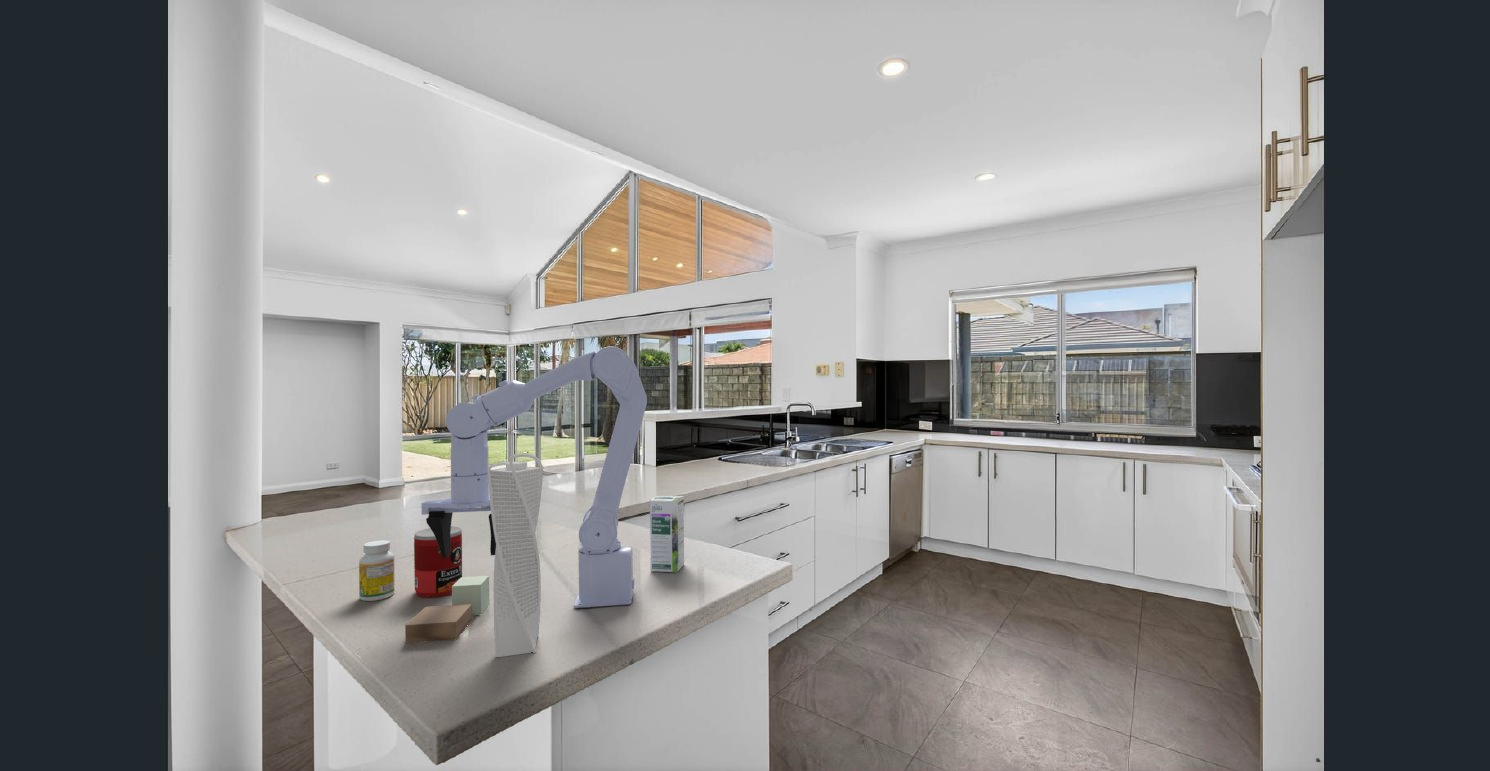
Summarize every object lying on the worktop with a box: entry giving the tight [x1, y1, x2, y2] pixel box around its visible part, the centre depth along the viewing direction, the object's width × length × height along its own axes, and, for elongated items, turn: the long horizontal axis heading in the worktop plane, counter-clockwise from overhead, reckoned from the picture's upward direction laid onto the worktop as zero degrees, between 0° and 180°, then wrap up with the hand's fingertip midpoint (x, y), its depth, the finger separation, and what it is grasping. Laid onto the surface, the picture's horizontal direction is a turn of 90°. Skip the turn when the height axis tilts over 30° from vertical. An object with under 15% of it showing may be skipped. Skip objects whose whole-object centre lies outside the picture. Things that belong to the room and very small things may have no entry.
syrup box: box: [649, 495, 685, 573], centre depth 116 cm, size 6×6×14 cm
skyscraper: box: [488, 452, 544, 658], centre depth 81 cm, size 8×8×28 cm
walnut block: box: [404, 604, 473, 644], centre depth 86 cm, size 7×7×3 cm
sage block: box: [451, 575, 490, 616], centre depth 95 cm, size 4×4×5 cm
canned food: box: [413, 525, 463, 599], centre depth 104 cm, size 8×8×11 cm
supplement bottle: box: [358, 539, 396, 602], centre depth 102 cm, size 5×5×10 cm
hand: (470, 554), depth 95 cm, fingers open, 7 cm apart
